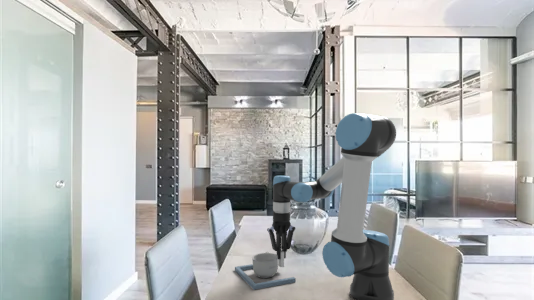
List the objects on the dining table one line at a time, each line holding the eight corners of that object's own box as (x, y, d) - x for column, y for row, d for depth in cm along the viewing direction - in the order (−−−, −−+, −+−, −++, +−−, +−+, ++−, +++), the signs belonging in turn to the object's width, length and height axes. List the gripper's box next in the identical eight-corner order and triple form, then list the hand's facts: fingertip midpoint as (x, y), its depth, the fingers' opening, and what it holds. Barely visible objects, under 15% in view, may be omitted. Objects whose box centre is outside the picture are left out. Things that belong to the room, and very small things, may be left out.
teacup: (273, 282, 126) (273, 261, 126) (248, 278, 130) (248, 258, 130) (282, 269, 140) (282, 251, 140) (259, 266, 143) (259, 249, 143)
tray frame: (295, 282, 126) (295, 278, 126) (253, 289, 119) (253, 285, 119) (272, 264, 146) (272, 261, 146) (234, 270, 138) (234, 266, 138)
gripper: (290, 209, 143) (290, 261, 143) (264, 211, 138) (263, 265, 138) (299, 212, 137) (298, 266, 136) (271, 214, 131) (271, 271, 131)
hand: (281, 266), depth 137 cm, fingers closed
